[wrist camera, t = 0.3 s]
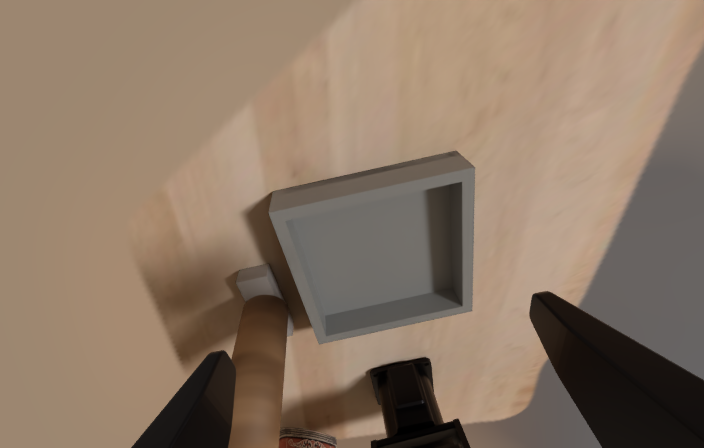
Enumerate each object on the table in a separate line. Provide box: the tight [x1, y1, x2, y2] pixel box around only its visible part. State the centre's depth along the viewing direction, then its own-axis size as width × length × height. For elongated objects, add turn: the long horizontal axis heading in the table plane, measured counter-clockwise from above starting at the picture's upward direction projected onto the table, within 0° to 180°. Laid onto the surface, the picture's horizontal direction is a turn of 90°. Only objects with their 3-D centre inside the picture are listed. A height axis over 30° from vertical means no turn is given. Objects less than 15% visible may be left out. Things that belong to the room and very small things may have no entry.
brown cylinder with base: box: [228, 264, 294, 448], centre depth 23 cm, size 7×4×12 cm, turn 11°
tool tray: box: [268, 151, 475, 344], centre depth 25 cm, size 13×13×3 cm
